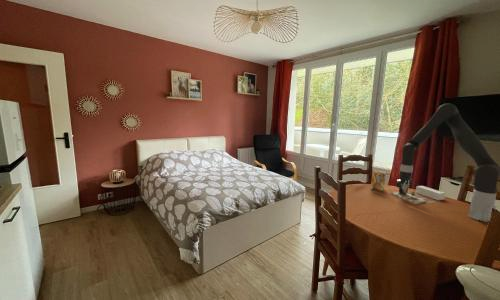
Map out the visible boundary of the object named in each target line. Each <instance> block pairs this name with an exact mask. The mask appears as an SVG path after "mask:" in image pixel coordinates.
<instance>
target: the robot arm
mask: <svg viewBox="0 0 500 300" xmlns="http://www.w3.org/2000/svg"><path fill="white" fill-rule="evenodd" d="M444 121H445V123H446V124H447V125H448V127H449V128H450V130H451V133H452V135H453V138H454V139H455V142H457V144H458V146H459V147H460V149H461V150H462V151H464V152H465V153H466V154H467V155H468V156H469V157H470V158H471V159H472V160H473V161H474V163H475V164H476V166H477V168H476V169H475V173H474V177H473V178H474V179H473V190H472V194H471V195H472V196H471V200H470V202H471V203H470V206H469V211H468V217H470V218H471V219H474V220H476V221H479V220H480V221H481V222H483V223H490V222H489V220H490V217H491V212H492V208H494V209H495V210H496V208H497V205H495V203H496V197H497V195H498V194H497V193H498V188H497V186H498V180H499V178H500V165H499V164H498V163H497V162H496V161H495V160H494V158H493V157H492V156H491V155H490V154H489V153H488V151H487V149H486V147H485V146H484V144H483V143H482V142H481V140H480V139H479V137H478V136H477V135H476V133H475V132H474V130H472V128H471V127H470V126H469V125H468V124H467V123H466V121H465V120H464V119H463V118H462V116H461V114H460V112H459V109H458V108H457V106H456V105H455V104H452V103H443V104H442V105H439V107H438V108H437V110H436V111H435V112H434V113H433V115H432V116H431V118H430V119H429V120H428V121H427V122H426V123H425V125H424V126H422V128H420V129H419V131H417V133H416V134H415V135H413V137H412V138H411V139H410V140H408V142H406V144H404V145H403V146H402V150H401V151H402V154H401V156H402V158H401V162H400V163H401V164H400V167H399V174H398V176H399V179H396V181H395V182H396V187H397V188H398V192H399V193H401V194H402V193H403V187H404V186H405V184H408V185H407V192H409V191H408V190H409V188H411V187H412V185H413V183H414V180H413V179H412V177H413V170H414V161H415V159H414V156H415V151H416V150H417V149H418V148H419V146H421V145H422V144H423V143H424V142H426V141H427V140H428V139H429V138H430V137H431V136H432V134H433V133H434V132H435V131H436V129H437V128H438V127H439V126H440V125H441V124H442V123H443V122H444ZM402 184H403V185H402ZM401 185H402V187H401ZM407 192H406V193H407ZM480 221H479V222H480Z"/></svg>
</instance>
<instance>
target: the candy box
mask: <svg viewBox="0 0 500 300" xmlns="http://www.w3.org/2000/svg"><path fill="white" fill-rule="evenodd" d="M371 174H372V175H371V184H370V190H372V189H373V190H379V191H384V190H385V185H386V178H387V172H384V171H381V170H379V171H378V170H373V171H372V173H371Z"/></svg>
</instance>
